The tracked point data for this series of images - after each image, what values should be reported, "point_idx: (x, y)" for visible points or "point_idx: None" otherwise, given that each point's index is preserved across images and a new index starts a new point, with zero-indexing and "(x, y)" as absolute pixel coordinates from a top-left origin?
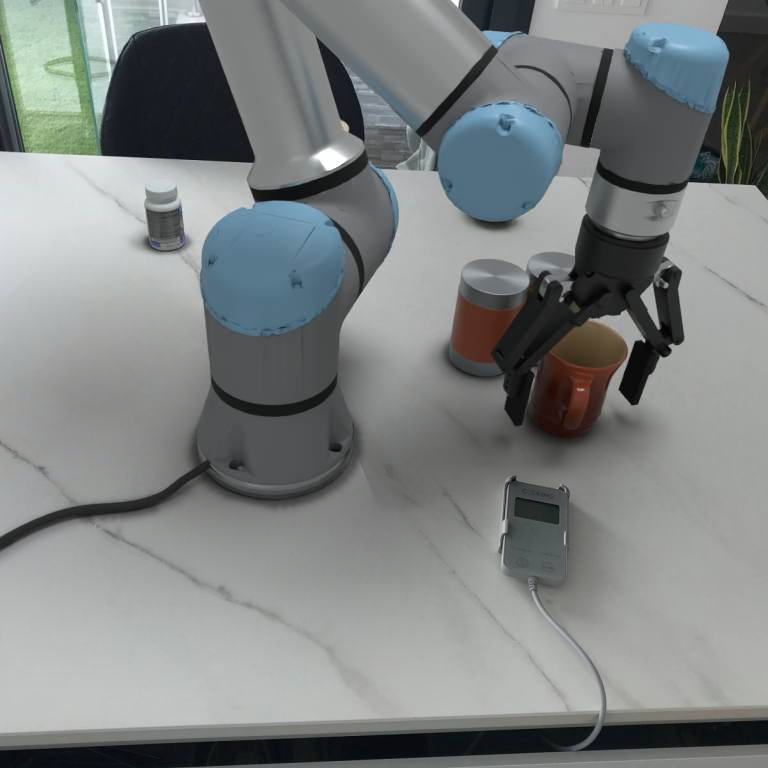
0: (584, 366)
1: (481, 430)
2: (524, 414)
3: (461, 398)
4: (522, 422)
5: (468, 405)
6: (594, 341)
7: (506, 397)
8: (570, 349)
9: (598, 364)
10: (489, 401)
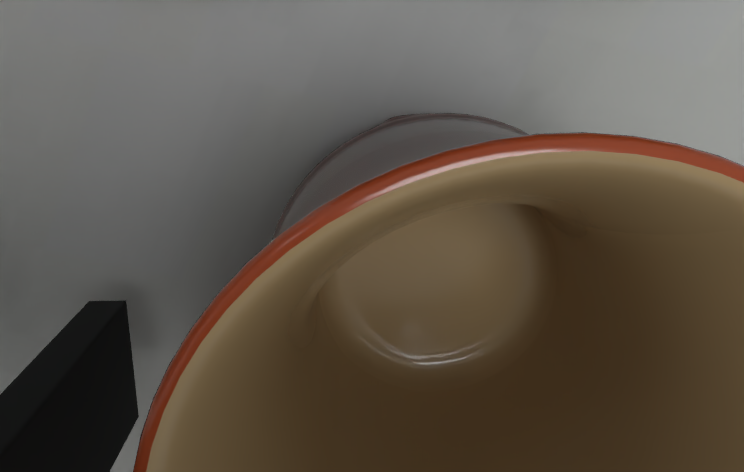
0: (602, 264)
1: (53, 242)
2: (116, 455)
3: (19, 15)
4: (133, 424)
5: (40, 73)
6: (735, 315)
7: (57, 335)
8: (557, 212)
9: (661, 359)
10: (152, 70)
